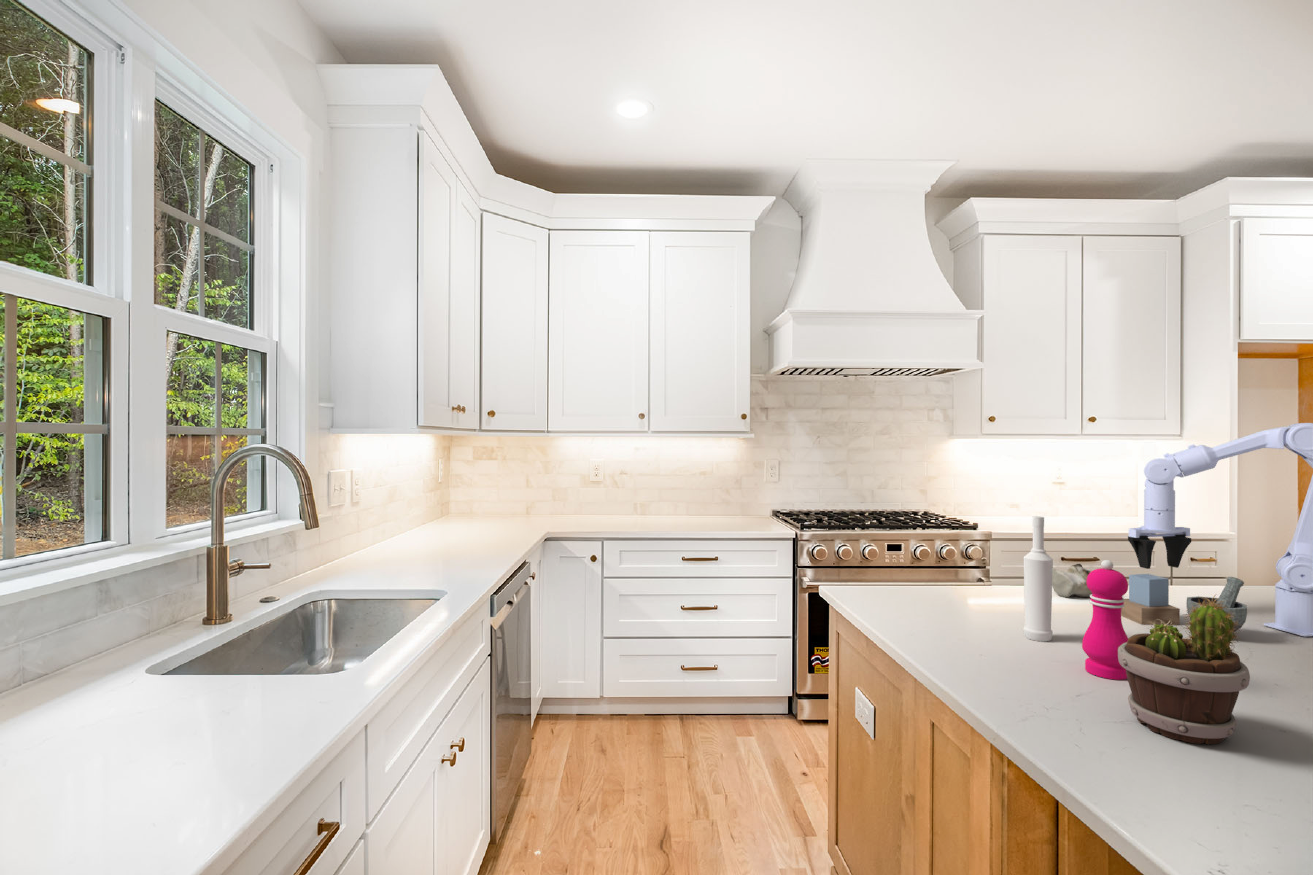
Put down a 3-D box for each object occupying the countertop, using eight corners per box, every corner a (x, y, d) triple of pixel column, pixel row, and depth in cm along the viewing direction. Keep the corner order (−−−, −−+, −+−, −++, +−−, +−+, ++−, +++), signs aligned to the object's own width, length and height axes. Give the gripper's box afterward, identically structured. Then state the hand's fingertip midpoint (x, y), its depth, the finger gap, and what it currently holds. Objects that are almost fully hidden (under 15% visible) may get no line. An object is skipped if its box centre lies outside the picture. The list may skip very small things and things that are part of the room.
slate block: (1147, 599, 147) (1147, 573, 147) (1168, 605, 142) (1168, 578, 142) (1129, 600, 146) (1129, 574, 146) (1149, 606, 141) (1149, 579, 141)
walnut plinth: (1153, 616, 148) (1153, 598, 148) (1179, 626, 140) (1179, 608, 140) (1117, 615, 148) (1117, 598, 148) (1141, 626, 140) (1141, 608, 140)
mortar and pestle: (1221, 644, 127) (1221, 584, 127) (1174, 630, 136) (1174, 574, 136) (1265, 640, 129) (1265, 581, 129) (1216, 626, 138) (1216, 571, 138)
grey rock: (1039, 558, 169) (1094, 560, 170) (1037, 590, 169) (1091, 593, 170) (1067, 567, 158) (1125, 570, 159) (1065, 601, 159) (1122, 604, 159)
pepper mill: (1140, 682, 108) (1141, 565, 108) (1093, 679, 109) (1093, 563, 109) (1119, 667, 115) (1119, 556, 115) (1074, 664, 116) (1075, 555, 116)
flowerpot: (1110, 731, 91) (1111, 591, 90) (1124, 697, 102) (1125, 573, 102) (1249, 767, 81) (1251, 610, 81) (1248, 726, 92) (1250, 588, 92)
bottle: (1044, 634, 134) (1045, 515, 133) (1057, 642, 128) (1058, 518, 128) (1018, 633, 134) (1019, 514, 134) (1030, 641, 129) (1031, 518, 129)
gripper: (1170, 507, 155) (1170, 562, 155) (1117, 508, 153) (1117, 564, 153) (1199, 510, 148) (1198, 569, 148) (1143, 511, 146) (1143, 571, 146)
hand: (1159, 567), depth 150 cm, fingers open, 7 cm apart
